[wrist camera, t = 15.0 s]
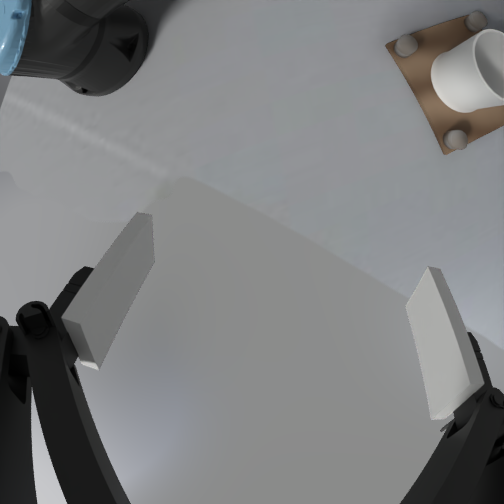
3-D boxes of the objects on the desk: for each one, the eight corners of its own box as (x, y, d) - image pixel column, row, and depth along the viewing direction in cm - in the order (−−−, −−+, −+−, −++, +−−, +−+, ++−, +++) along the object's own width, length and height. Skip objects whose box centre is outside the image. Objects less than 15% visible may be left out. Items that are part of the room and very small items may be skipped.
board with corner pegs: (385, 45, 32) (392, 36, 29) (469, 15, 27) (480, 7, 24) (443, 154, 35) (455, 155, 32) (520, 115, 31) (535, 114, 27)
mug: (480, 40, 28) (524, 16, 17) (507, 95, 29) (558, 87, 18) (418, 62, 31) (455, 36, 20) (449, 121, 33) (496, 116, 22)
